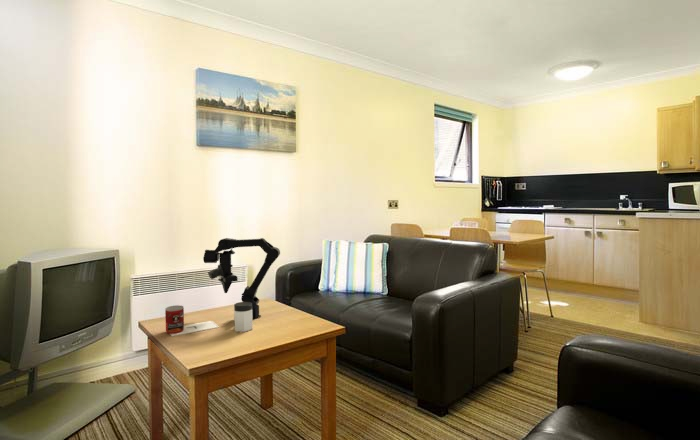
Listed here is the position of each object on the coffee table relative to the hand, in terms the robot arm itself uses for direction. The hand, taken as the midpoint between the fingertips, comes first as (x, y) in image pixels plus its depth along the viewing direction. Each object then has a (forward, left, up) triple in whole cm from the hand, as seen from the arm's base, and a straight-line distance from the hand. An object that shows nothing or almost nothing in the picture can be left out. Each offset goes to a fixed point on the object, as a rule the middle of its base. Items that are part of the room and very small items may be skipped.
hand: (225, 292), depth 198 cm
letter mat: (+3, +20, -13) cm, 24 cm away
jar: (-20, +11, -13) cm, 26 cm away
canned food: (+6, +26, -13) cm, 30 cm away
